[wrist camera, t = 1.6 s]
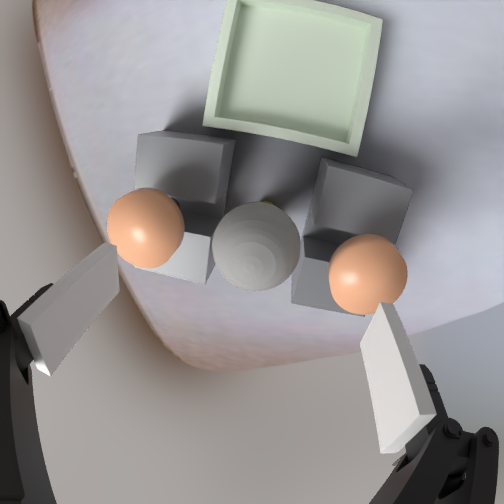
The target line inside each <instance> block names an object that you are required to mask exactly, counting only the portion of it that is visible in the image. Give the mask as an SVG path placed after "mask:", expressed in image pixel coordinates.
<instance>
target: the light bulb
mask: <svg viewBox="0 0 504 504" xmlns="http://www.w3.org/2000/svg"><path fill="white" fill-rule="evenodd" d="M212 251H213V257H214V261H215V264H216V266H217V268H218V269H219V271H220V272H221V274H222V275H223V276H224V278H225V279H226V280H228V281H229V282H230V283H231V284H233V285H235V286H237V287H239V288H241V289H244V290H249V291H264V290H268V289H271V288H274V287H276V286H278V285H279V284H281V283H282V282H284V281H285V280H286V279H287V278H288V277H289V276H290V275H291V273H292V272H293V271H294V269H295V268H296V266H297V264H298V261H299V258H300V236H299V232H298V230H297V227H296V226H295V224H294V222H293V221H292V220H291V218H290V217H289V216H288V215H287V214H286V213H285V212H284V211H282V210H281V209H280V208H278V207H276V206H275V205H274V204H273V203H272V202H270V201H261V202H251V203H246V204H243V205H240V206H238V207H236V208H234V209H232V210H231V211H229V212H228V213H227V214H226V215H225V216H224V217H223V218H222V220H221V221H220V223H219V224H218V226H217V228H216V230H215V232H214V235H213V240H212Z"/></svg>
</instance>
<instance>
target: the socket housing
mask: <svg viewBox="0 0 504 504" xmlns="http://www.w3.org/2000/svg"><path fill="white" fill-rule="evenodd" d="M235 141H236V140H234V139H228V138H221V137H214V136H207V135H199V134H191V133H183V132H174V131H156V132H150V133H144V134H138V142H137V153H136V167H135V185H134V189H135V190H136V189H139V188H154V189H157V190H160V191H162V192H164V193H165V194H167V195H168V196H169V197H170V198H174V199H176V200H177V201H178V202H179V205H180V211H181V213H182V216H183V220H184V226H185V229H184V237H183V240H182V242H181V244H180V246H179V247H178V249H177V250H176V251H175V252H174V254H173V255H172V256H171V257H170V259H169V260H168V261H167V262H166V263H164V264H163V265H161V266H158V267H155V268H141V267H137V266H135V265H134V267H136V268H140V269H143V270H147V271H151V272H155V273H159V274H163V275H167V276H171V277H175V278H180V279H184V280H188V281H192V282H196V283H201V284H206V282H207V280H208V278H209V276H210V274H211V272H212V270H213V268H214V266H215V261H214V257H213V251H212V240H213V235H214V232H215V230H216V228H217V226H218V224H219V223H220V221H221V220H222V218H223V217H224V211H225V204H226V198H227V191H228V185H229V178H230V172H231V165H232V159H233V153H234V147H235ZM412 193H413V190H412V189H410V188H409V187H407V186H406V185H404V184H403V183H401V182H400V181H398V180H397V179H395V178H394V177H391V176H387V175H384V174H381V173H378V172H374V171H371V170H367V169H364V168H361V167H357V166H353V165H350V164H346V163H342V162H338V161H335V160H331V159H327V158H323V157H321V162H320V166H319V170H318V175H317V179H316V183H315V187H314V191H313V196H312V200H311V204H310V208H309V212H308V216H307V220H306V224H305V227H304V231H303V235H302V239H301V243H300V258H299V261H298V264H297V266H296V268H295V269H294V271H293V273H292V292H291V303H293V304H298V305H303V306H308V307H314V308H319V309H324V310H330V311H335V312H340V313H346V314H352V315H357V316H363V317H365V315H361V314H354V313H351V312H348V311H346V310H344V309H343V308H341V307H340V306H339V305H338V304H337V303H336V301H335V300H334V298H333V296H332V293H331V289H330V284H329V278H328V266H329V262H330V259H331V257H332V255H333V253H334V252H335V251H336V249H337V248H338V247H339V246H340V245H341V244H342V243H344V242H345V241H347V240H348V239H349V238H350V237H352V236H358V235H362V234H375V235H379V236H382V237H384V238H386V239H388V240H389V241H390V242H391V243H394V244H395V243H396V240H397V238H398V235H399V232H400V229H401V226H402V224H403V221H404V218H405V215H406V212H407V209H408V206H409V202H410V199H411V196H412Z"/></svg>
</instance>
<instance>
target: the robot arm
mask: <svg viewBox="0 0 504 504" xmlns="http://www.w3.org/2000/svg"><path fill="white" fill-rule="evenodd" d="M118 292H119V279H118V264H117V246H116V245H112V244H108V243H103V244H102V245H101V246H99V247H98V248H97V249H96V250H94V251H93V252H92V253H91V254H90V255H88V256H87V257H86V258H84V259H83V260H82V261H81V262H80V263H78V264H77V265H76V266H75V267H74V268H73V269H71V270H70V271H69V272H68V273H67V274H65V275H64V276H63V277H62V278H61V279H59V280H58V281H57V282H56V283H55V284H52V283H50V284H48V285H46V286H44V287H42V288H41V289H40V290H38V291H37V292H36V293H35V295H33V296H32V297H31V298H29V300H27V301H26V302H25V303H24V304H23V305H22V306H21V307H20V308H18V309H17V310H16V311H15V312H14V313H13V314H12V315H11V316H9V313H8V310H7V307H6V304H5V303H4V302H3V301H2V300H0V504H57V503H56V500H55V497H54V494H53V491H52V488H51V484H50V481H49V477H48V473H47V470H46V465H45V462H44V457H43V452H42V448H41V443H40V438H39V432H38V426H37V420H36V413H35V405H34V396H33V385H32V370H31V367H30V363H31V362H32V361H33V360H34V362H35V364H36V366H37V368H38V369H39V370H40V371H42V372H44V373H46V374H48V375H50V376H51V375H52V374H53V372H54V371H55V370H56V368H57V367H58V366H59V365H60V363H61V362H62V360H63V359H64V358H65V357H66V355H67V354H68V353H69V352H70V350H71V349H72V348H73V346H74V345H75V344H76V343H77V341H78V340H79V339H80V338H81V336H82V335H83V334H84V333H85V332H86V330H87V329H88V328H89V327H90V325H91V324H92V323H93V322H94V321H95V319H96V318H97V317H98V316H99V315H100V313H101V312H102V311H103V310H104V308H105V307H106V306H107V305H108V304H109V303H110V302H111V300H112V299H113V298H114V297H115V296H116V295H117V294H118ZM360 347H361V351H362V355H363V360H364V364H365V369H366V373H367V378H368V383H369V388H370V393H371V398H372V403H373V409H374V414H375V420H376V426H377V432H378V439H379V445H380V452H381V454H382V453H397V452H398V451H399V450H400V449H401V448H403V447H404V446H405V447H406V453H405V454H404V455H403V456H402V457H400V458H399V459H398V460H397V461H396V462H395V463H394V464H393V466H395V465H396V464H397V463H398V464H397V466H396V467H395V468H394V470H393V471H392V473H391V474H390V476H389V477H388V479H387V480H386V482H385V483H384V484H383V486H382V487H381V488H380V490H379V491H378V492H377V494H376V495H375V496H374V498H373V499H372V500H371V502H370V503H369V504H494V502H495V494H496V485H497V474H498V455H499V441H498V437H497V435H496V433H495V432H494V431H493V430H492V429H491V428H489V427H483V428H481V429H480V430H479V431H478V432H476V433H475V434H474V433H469V432H465V431H463V430H462V427H461V426H460V424H459V423H458V422H457V421H456V420H454V419H452V418H448V416H447V413H446V410H445V407H444V405H443V402H442V399H441V396H440V393H439V392H438V388H437V386H436V384H435V380H434V378H433V375H432V373H431V372H430V371H429V369H428V368H427V367H426V366H425V365H422V364H418V361H417V358H416V356H415V353H414V351H413V348H412V346H411V344H410V341H409V338H408V336H407V334H406V331H405V329H404V327H403V325H402V322H401V320H400V318H399V316H398V313H397V311H396V309H395V307H394V305H393V304H388V303H383V302H380V303H379V306H378V308H377V310H376V312H375V314H374V316H373V318H372V320H371V323H370V325H369V327H368V329H367V331H366V333H365V335H364V337H363V339H362V341H361V342H360ZM465 475H466V478H465Z"/></svg>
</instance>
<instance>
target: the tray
mask: <svg viewBox="0 0 504 504" xmlns="http://www.w3.org/2000/svg"><path fill="white" fill-rule="evenodd" d="M382 22H383V19H380V18H377V17H374V16H371V15H368V14H365V13H362V12H358V11H355V10H351V9H348V8H344V7H340V6H336V5H332V4H328V3H324V2H319V1H314V0H226V5H225V9H224V13H223V17H222V22H221V26H220V31H219V36H218V40H217V45H216V50H215V55H214V60H213V66H212V71H211V76H210V82H209V87H208V93H207V99H206V105H205V111H204V118H203V124H202V126H206V127H214V128H221V129H228V130H235V131H241V132H247V133H253V134H258V135H264V136H269V137H274V138H279V139H284V140H289V141H294V142H298V143H303V144H307V145H312V146H316V147H320V148H324V149H328V150H332V151H336V152H340V153H343V154H347V155H351V156H354V157H357V155H358V151H359V147H360V143H361V138H362V134H363V129H364V125H365V120H366V116H367V111H368V106H369V101H370V96H371V91H372V85H373V80H374V74H375V69H376V63H377V57H378V50H379V44H380V37H381V30H382Z"/></svg>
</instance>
